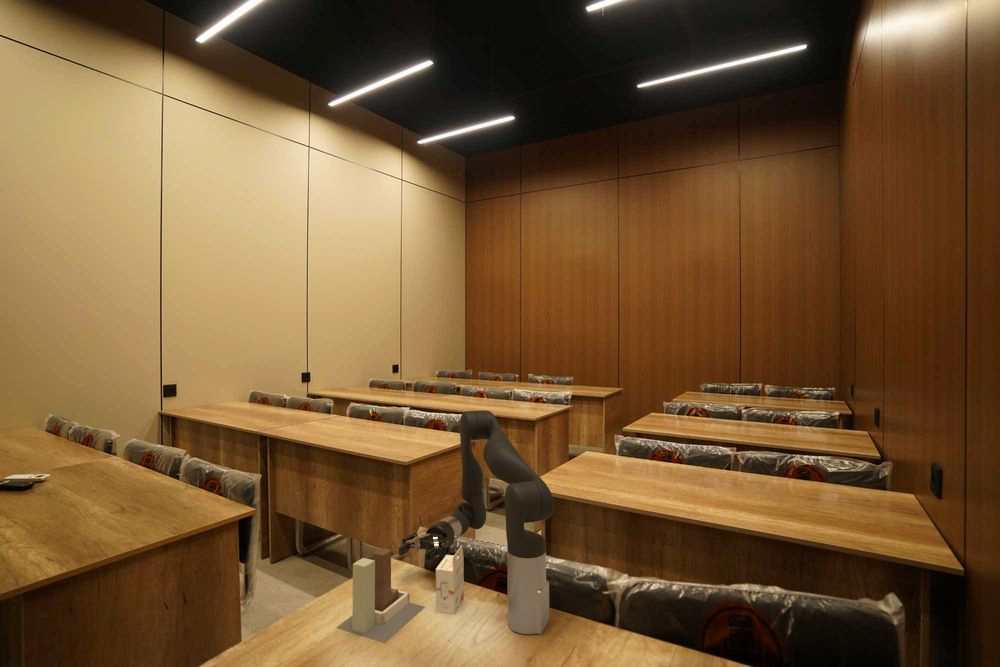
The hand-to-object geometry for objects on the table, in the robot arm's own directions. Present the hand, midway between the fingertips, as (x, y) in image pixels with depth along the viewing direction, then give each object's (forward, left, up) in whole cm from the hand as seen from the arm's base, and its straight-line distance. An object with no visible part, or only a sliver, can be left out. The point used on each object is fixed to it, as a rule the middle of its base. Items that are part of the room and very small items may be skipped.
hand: (413, 554), depth 128 cm
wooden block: (0, +11, -9) cm, 15 cm away
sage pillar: (0, +20, -9) cm, 22 cm away
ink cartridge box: (-13, +3, -10) cm, 17 cm away
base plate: (-1, +14, -10) cm, 17 cm away
